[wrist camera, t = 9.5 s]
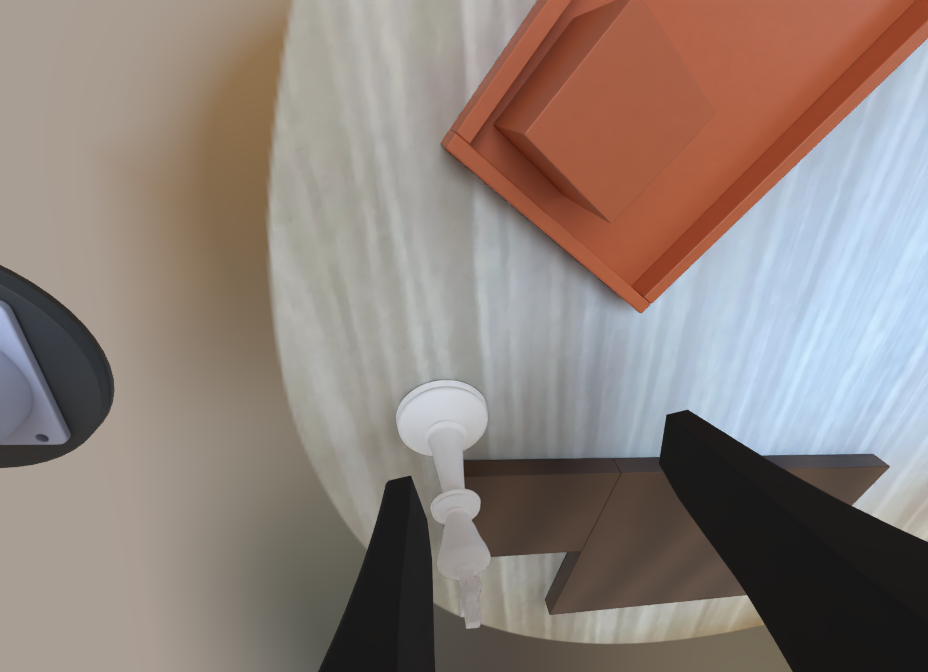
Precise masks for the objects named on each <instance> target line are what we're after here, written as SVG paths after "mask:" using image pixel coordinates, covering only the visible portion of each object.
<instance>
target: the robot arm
mask: <svg viewBox="0 0 928 672" xmlns="http://www.w3.org/2000/svg"><path fill="white" fill-rule="evenodd" d="M70 437H71V432H70V430H69V428H68V426H67V424H66V422H65V420H64V418H63V415H62V413H61V411H60V409H59V407H58V405H57V403H56V401H55V399H54V396H53V394H52V392H51V390H50V388H49V386H48V384H47V382H46V380H45V378H44V375H43V373H42V371H41V369H40V367H39V365H38V363H37V361H36V359H35V356H34V354H33V352H32V350H31V348H30V346H29V344H28V342H27V340H26V337H25V335H24V333H23V331H22V329H21V327H20V325H19V323H18V321H17V319H16V316H15V314H14V312H13V310H12V309H11V307H10V306H9V305H8V304H7V303H5V302H4V301H2V300H0V445H58V444H63V443H65V442H66V441H67V440H68V439H69V438H70ZM659 465H660V466H661V468H662V470H663V472H664V474H665V476H666V478H667V479H668V481H669V483H670V485H671V486H672V488H673V490H674V492H675V493H676V495H677V497H678V499H679V500H680V501H681V503H682V504H683V506H684V507H685V509H686V510H687V511H688V513H689V514H690V516H691V517H692V518H693V520H694V521H695V523H696V524H697V525H698V527H699V528H700V530H701V531H702V532H703V534H704V535H705V536H706V538H707V539H708V541H709V542H710V543H711V545H712V546H713V547H714V549H715V550H716V552H717V553H718V554H719V556H720V557H721V558H722V560H723V561H724V563H725V564H726V565H727V567H728V568H729V569H730V571H731V572H732V574H733V575H734V576H735V578H736V579H737V581H738V582H739V584H740V585H741V587H742V588H743V590H744V591H745V593H746V594H747V596H748V597H749V599H750V600H751V602H752V604H753V605H754V607H755V609H756V610H757V612H758V614H759V615H760V617H761V619H762V620H763V622H764V624H765V625H766V626H767V628H768V630H769V632H770V633H771V635H772V637H773V638H774V640H775V642H776V644H777V645H778V647H779V649H780V650H781V652H782V654H783V656H784V657H785V659H786V661H787V663H788V664H789V666H790V668H791V669H792V671H793V672H928V542H927V541H924V540H922V539H920V538H918V537H915V536H913V535H911V534H909V533H907V532H904V531H902V530H900V529H898V528H896V527H894V526H891V525H889V524H887V523H885V522H883V521H881V520H879V519H877V518H875V517H873V516H871V515H869V514H867V513H865V512H863V511H861V510H859V509H857V508H855V507H853V506H851V505H849V504H847V503H845V502H843V501H841V500H839V499H837V498H835V497H833V496H831V495H830V494H828V493H826V492H824V491H822V490H820V489H819V488H817V487H815V486H813V485H811V484H809V483H808V482H806V481H804V480H802V479H800V478H799V477H797V476H795V475H793V474H792V473H790V472H788V471H786V470H785V469H783V468H781V467H780V466H778V465H776V464H774V463H773V462H771V461H769V460H768V459H766V458H764V457H763V456H761V455H759V454H758V453H756V452H755V451H753V450H751V449H750V448H748V447H746V446H745V445H743V444H742V443H740V442H738V441H737V440H735V439H734V438H732V437H730V436H729V435H727V434H726V433H724V432H722V431H721V430H719V429H718V428H716V427H714V426H713V425H711V424H710V423H708V422H707V421H705V420H703V419H702V418H700V417H699V416H697V415H695V414H694V413H692V412H690V411H689V410H685V411H680V412H676V413H672V414H668V415H666V422H665V428H664V434H663V441H662V447H661V454H660V460H659ZM433 623H434V621H433V579H432V556H431V547H430V539H429V531H428V523H427V518H426V515H425V513H424V510H423V507H422V505H421V502H420V499H419V496H418V494H417V491H416V488H415V485H414V483H413V480H412V477H411V476H407V477H402V478H398V479H394V480H390V481H388V482H387V483H386V485H385V490H384V494H383V498H382V502H381V506H380V510H379V514H378V517H377V521H376V524H375V528H374V531H373V534H372V538H371V541H370V544H369V547H368V550H367V553H366V556H365V559H364V562H363V565H362V568H361V571H360V573H359V576H358V579H357V581H356V584H355V586H354V589H353V592H352V594H351V597H350V599H349V602H348V604H347V607H346V610H345V612H344V615H343V617H342V619H341V622H340V624H339V627H338V629H337V631H336V633H335V636H334V638H333V640H332V642H331V645H330V647H329V649H328V651H327V653H326V656H325V658H324V660H323V662H322V664H321V667H320V669H319V671H318V672H435V658H434V624H433Z"/></svg>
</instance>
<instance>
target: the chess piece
mask: <svg viewBox="0 0 928 672" xmlns="http://www.w3.org/2000/svg"><path fill="white" fill-rule="evenodd" d="M396 423H397V427H398V432H399V435H400V437H401V439H402V441H403V442H404V443H405V444H406V445H407V446H408V447H409V448H410V449H412V450H413V451H415V452H418V453H420V454H423V455H427V456H433V458H434V462H435V465H436V469H437V473H438V477H439V480H440V485H441V490H442V493H441V494H439V495H438V496H437V497H436V498H435V499H434V500H433V501H432V503H431V507H430V510H431V513H432V515H433V517H434V519H435V520H436V521H437V522H439V523H441V524H444V525H445V527H444V530H443V537H442V543H441V547H440V550H439V554H438V559H437V568H438V570H439V572H440V573H441V574H442V575H443V576H445V577H447V578H449V579H454V580H460V586H461V593H462V595H461V598H460V602H459V608H460V615H461V617H465V622H466V628H467V629H468V628H478V627H479V626H480V623H481V615H480V609H479V603H478V599H479V596H480V592H481V586H480V580H479V577H475V576H477V575H479V574H480V573H482V572H483V571H484V570H485V569H486V568H487V567H488V565H489V563H490V560H491V556H490V552H489V550H488V548H487V546H486V544H485V542H484V541H483V540H482V538H481V537H480V535H479V533H478V531H477V529H476V526H475V525H474V523H473V522H472V519H473V518H474V517H475V516H476V515H477V514H478V512H479V510H480V504H481V501H480V498H479V496H478V495H477V494H476V493H475V492H473V491H471V490H469V489H465V485H464V468H463V451H464V450H466V449H468V448H469V447H471V446H472V445H474V444H475V443H476V442H477V441H478V440H479V439H480V438H481V436H482V435H483V433H484V432H485V429H486V427H487V423H488V414H487V405H486V402H485V399H484V397H483V396H482V395H481V393H480V392H479V391H478V390H477V389H475V388H474V387H472V386H470V385H468V384H466V383H463V382H460V381H455V380H438V381H433V382H429V383H426V384H423V385H421V386H419V387H417V388H415V389H414V390H412V391H411V392H410V393H409V394H408V395H406V397H405V398H404V399H403V400H402V402H401V403H400V405H399V407H398V410H397V413H396Z"/></svg>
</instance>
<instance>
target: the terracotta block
mask: <svg viewBox="0 0 928 672" xmlns="http://www.w3.org/2000/svg"><path fill="white" fill-rule="evenodd" d="M716 113H717V111H716V110H715V108H714V107H713V105H712V104H711V102H710V101H709V99H708V98H707V96H706V95H705V93H704V92H703V90H702V89H701V87H700V85H699V84H698V82H697V81H696V79H695V78H694V76H693V75H692V73H691V72H690V70H689V69H688V67H687V66H686V64H685V63H684V61H683V60H682V58H681V56H680V55H679V53H678V52H677V50H676V49H675V47H674V46H673V44H672V43H671V41H670V40H669V38H668V37H667V35H666V34H665V32H664V31H663V29H662V27H661V26H660V24H659V23H658V21H657V20H656V18H655V17H654V15H653V14H652V12H651V11H650V9H649V8H648V6H647V5H646V3H645V2H644V0H615V1H613V2H610V3H608V4H605V5H603V6H601V7H598V8H596V9H593V10H591V11H589V12H586V13H584V14H581V15H579V16H577V17H574V18H573V19H572V20H571V22H570V23H569V24H568V26H567V27H566V28H565V30H564V31H563V32H562V34H561V35H560V36H559V38H558V39H557V40H556V42H555V43H554V44H553V46H552V47H551V48H550V50H549V51H548V52H547V54H546V55H545V56H544V58H543V59H542V60H541V62H540V63H539V64H538V66H537V67H536V68H535V70H534V71H533V72H532V74H531V75H530V76H529V78H528V79H527V80H526V81H525V83H524V84H523V85H522V87H521V88H520V89H519V91H518V92H517V93H516V95H515V96H514V97H513V99H512V100H511V101H510V103H509V104H508V105H507V107H506V108H505V109H504V111H503V112H502V113H501V115H500V116H499V117H498V119H497V120H496V121H495V123H494V124H493V125H494V127H495V128H496V129H497V130H498V131H499V132H500V133H501V134H502V135H503V136H504V137H505V138H506V139H508V140H509V141H510V142H511V143H512V144H513V145H514V146H515V147H516V148H517V149H518V150H519V151H520V152H521V153H522V154H523V155H524V156H525V157H526V158H527V159H528V160H529V161H530V162H531V163H532V164H533V165H534V166H535V167H536V168H537V169H538V170H539V171H540V172H541V173H542V174H543V175H544V176H545V177H546V178H547V179H548V180H549V181H550V182H551V183H552V184H553V185H554V186H555V187H556V188H557V189H558V190H559V191H560V192H561V193H562V194H563V195H564V196H565V197H567V198H569V199H570V200H572V201H574V202H575V203H577V204H578V205H580V206H582V207H583V208H585V209H587V210H588V211H590V212H592V213H593V214H595V215H597V216H598V217H600V218H602V219H603V220H605V221H607V222H608V223H610V224H612V223H613V222H614V221H615V220H616V219H617V218H618V217H619V215H620V214H621V213H622V212H623V211H624V210H625V209H626V208H627V207H628V206H629V205H630V204H631V203H632V202H633V201H634V200H635V199H636V198H637V197H638V195H639V194H640V193H641V192H642V191H643V190H644V189H645V188H646V187H647V186H648V185H649V184H650V183H651V182H652V181H653V180H654V179H655V178H656V177H657V175H658V174H659V173H660V172H661V171H662V170H663V169H664V168H665V167H666V166H667V165H668V164H669V163H670V162H671V161H672V160H673V159H674V158H675V157H676V155H677V154H678V153H679V152H680V151H681V150H682V149H683V148H684V147H685V146H686V145H687V144H688V143H689V142H690V141H691V140H692V139H693V138H694V137H695V135H696V134H697V133H698V132H699V131H700V130H701V129H702V128H703V127H704V126H705V125H706V124H707V123H708V122H709V121H710V120H711V119H712V118H713V117H714V115H715V114H716Z"/></svg>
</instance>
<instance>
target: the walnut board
mask: <svg viewBox="0 0 928 672" xmlns="http://www.w3.org/2000/svg"><path fill="white" fill-rule="evenodd" d="M763 457H764V458H766V459H768V460H769V461H771V462H773V463H774V464H776V465H778V466H780V467H781V468H783V469H785V470H786V471H788V472H790V473H792V474H793V475H795V476H797V477H799V478H800V479H802V480H804V481H806V482H808V483H809V484H811V485H813V486H815V487H817V488H819V489H820V490H822V491H824V492H826V493H828V494H830V495H831V496H833V497H835V498H837V499H839V500H841V501H843V502H845V503H847V504H849V505H851V506H852V505H853V504H854V503H855V502H856V501H857V500H858V499H859V498H860V497H861V496H862V495H863V494H864V493H865V492H866V491H867V490H868V489H869V488H870V487H871V485H872V484H873V483H874V482H875V481H876V480H877V479H878V478H879V477H880V476H881V475H882V474H883V473H884V472H885V471H886V470H887V469H888V468H889V467H890V466H889V465H887V464H886V463H885V462H883V461H882V460H881V459H879V458H878V457H877V456H875V455H874V454H865V455H799V456H763ZM659 460H660V458H613V459H612V458H607V459H542V460H477V461H463V468H464V485H465V489H469V490H471V491H473V492H475V493H476V494H477V495H478V496H479V498H480V501H481V504H480V510H479V512H478V514H477V515H476V516H475V517H474V518H473V519H472V522H473V523H474V525H475V526H476V529H477V531H478V533H479V535H480V537H481V538H482V540H483V541H484V542H485V544H486V546H487V548H488V550H489V552H490V556H491V557H498V556H513V555H528V554H543V553H557V552H568V553H567V555H566V557H565V559H564V561H563V563H562V565H561V568H560V570H559V572H558V574H557V576H556V578H555V580H554V582H553V584H552V586H551V589H550V591H549V593H548V595H547V597H546V599H545V601H546V605H547V608H548V611H549V615H554V614H564V613H574V612H584V611H594V610H604V609H613V608H623V607H633V606H643V605H653V604H663V603H673V602H683V601H693V600H703V599H712V598H722V597H732V596H742V595H747V594H746V593H745V591H744V590H743V588H742V587H741V585H740V584H739V582H738V581H737V579H736V578H735V576H734V575H733V574H732V572H731V571H730V569H729V568H728V567H727V565H726V564H725V563H724V561H723V560H722V558H721V557H720V556H719V554H718V553H717V552H716V550H715V549H714V547H713V546H712V545H711V543H710V542H709V541H708V539H707V538H706V536H705V535H704V534H703V532H702V531H701V530H700V528H699V527H698V525H697V524H696V523H695V521H694V520H693V518H692V517H691V516H690V514H689V513H688V511H687V510H686V509H685V507H684V506H683V504H682V503H681V501H680V500H679V499H678V497H677V495H676V493H675V492H674V490H673V488H672V486H671V485H670V483H669V481H668V479H667V478H666V476H665V474H664V472H663V470H662V468H661V466H660V465H659Z"/></svg>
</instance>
